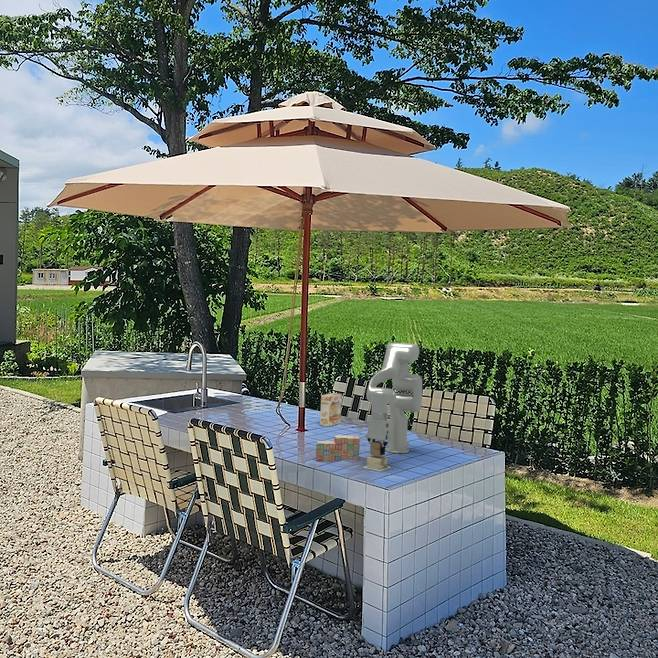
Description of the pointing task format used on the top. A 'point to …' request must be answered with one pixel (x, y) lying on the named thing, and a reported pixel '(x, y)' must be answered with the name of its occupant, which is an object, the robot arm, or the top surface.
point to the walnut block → (376, 448)
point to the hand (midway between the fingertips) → (377, 453)
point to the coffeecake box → (330, 409)
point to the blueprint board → (376, 469)
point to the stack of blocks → (338, 449)
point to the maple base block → (377, 462)
